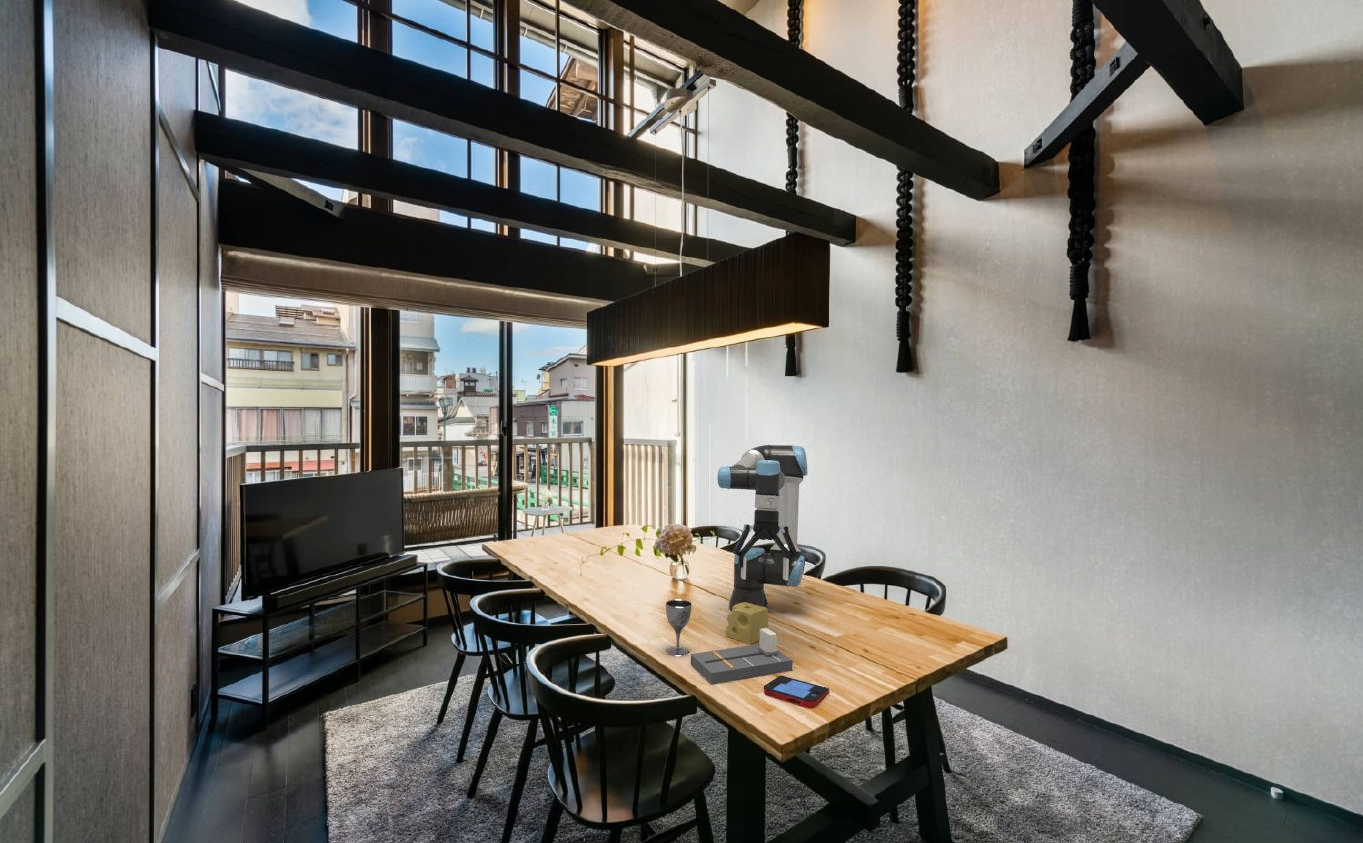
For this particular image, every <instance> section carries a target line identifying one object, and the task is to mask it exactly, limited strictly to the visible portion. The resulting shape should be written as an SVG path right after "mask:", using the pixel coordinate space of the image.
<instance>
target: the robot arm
mask: <svg viewBox="0 0 1363 843" xmlns="http://www.w3.org/2000/svg"><path fill="white" fill-rule="evenodd" d="M808 471H809V470H808V460H807V455H806V450H805V448H804V447H803V446H799V445H793V444H792V445H789V444H788V445H786V444H785V445H783V444H781V445H778V444H777V445H775V444H773V445H771V444H765V445H763V444H762V445H759V446H755V447H753V448H751V449H748V450H747V451H746V452H744V453H743V455H742V456H741V458H740V460H738V461H737V462H736V463H734V464H733V465H732V466H729V465H726V466H720V467H719V468H718V471H717V484H718V487H719V488H721V489H725V490H748V491H750V490H751V491H755V494H754V508H756V509H755V510H754V517H753V518H754V519H753V524H752V525H751V524H747V523H745V524H744V525H743V530H742V533H741V534H740V537H739V538H738V540H737V542H736V544H735V546H734V548H733V550H732V553H733V554H734V560H733V590H732V593H731V596H730V599H729V602H728V609H729V611H731V612H732V609H733V606H734V605H736V604H739V603H743V602H747V603H750V604H753V605H758V606H762V607H765V608H768V609H769V604H768V600H767V596H766V592H765V585H772V586H782V587H787V588H789V587H795V588H796V587H799V585H800V584H801V582H802V578H803V574H804V569H805V562H806V561H805V556H803V555H802V551H801V549H800V548H799V547H798V533H799V532H798V529H799V502H800V500H799V499H800V484H801V483H803V481H804V477H806V476H808ZM752 530H753V532H754V534H753V535H752V536H751V538H750V539H749V540H748V541H747V543H746V544H745V545H744V543H745V541H746V540H747V538H748V536H749V534H750V533H751V531H752ZM759 540H761V541H765V540H766V541H774V544H773V546H771V547H770V549H769V550H770V551H769V552H766V551H765V549H764V548H763V547H754V546H755V544H756V543H757V542H758V541H759Z"/></svg>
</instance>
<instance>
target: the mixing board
mask: <svg viewBox="0 0 1363 843" xmlns="http://www.w3.org/2000/svg"><path fill="white" fill-rule="evenodd" d="M758 646H760V643H756V644H748V645H744V646H737V647H730V648H729V647H728V648H724V649H723V648H722V649H715V650H710V651H702V652H695V653H690V666H692V667H693V668H694V669H695V670H696V672H698V673H699V674H700V675H701V676H702V677H703V678H704V677H705V678H706V679H705V678H704V679H705V680H706V681H707V682H708V683H709V684H711V685H716V684H720V683H726V682H733V681H739V680H744V679H750V678H756V677H761V676H769V675H774V674H779V673H785V672H790V671H793V661H794V660H793V659H792V658H790V657H789V656H787V654H785V653H783V652H781V651H780V650H778V654H775V655H769V656H766V655H765V654H763V653H762V652H760V651H759V650H758Z"/></svg>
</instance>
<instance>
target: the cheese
mask: <svg viewBox="0 0 1363 843" xmlns="http://www.w3.org/2000/svg"><path fill="white" fill-rule="evenodd" d="M726 621H727V625H726V628H725V636H726V637H727V638H730V639H733V640H737V641H739V642H743V643H745V644H747V645H753V644H754V643H756V642H760V629H763V628H768V629H769V607H768V608H765V607H762V606H758V605H753V604H750V603H747V602H743V603H739V604H736V605H734V606H733V609H732V611H731V612H730V613H728V614H727V617H726Z"/></svg>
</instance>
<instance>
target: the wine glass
mask: <svg viewBox="0 0 1363 843" xmlns="http://www.w3.org/2000/svg"><path fill="white" fill-rule="evenodd" d="M665 613H666V614H665V615H666V621H667V623H668V624H669V625H670V626H671V627H672V629H673V630H674V633H675V637H676V646H675V648H673V647H670V649H669V648H668V649H666V651H667V653H668V654H667V653H666V654H667V655H669V656H671V655H672V656H673V657H684V655H685V656H687V655H689V654H690V651H688V650H689V649H688V648H685V649H684V647H681V648H679V647H680V638H681V633H682V631H683V629H685V627H686V626H687V625H688V624H689V622H690V618H691V614H692V602H691V601H689V600H687V599H676V598H675V599H670V600H668V601H666V602H665ZM688 653H689V654H688ZM686 654H687V655H686Z"/></svg>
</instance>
